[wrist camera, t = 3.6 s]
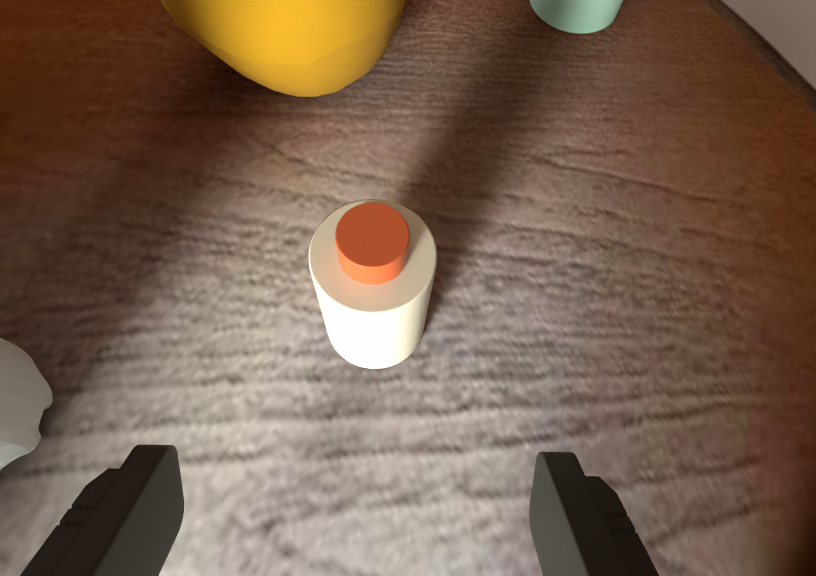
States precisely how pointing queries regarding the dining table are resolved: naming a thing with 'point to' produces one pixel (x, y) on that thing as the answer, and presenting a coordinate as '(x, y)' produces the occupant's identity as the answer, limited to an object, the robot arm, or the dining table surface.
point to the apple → (293, 38)
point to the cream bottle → (373, 280)
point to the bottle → (20, 402)
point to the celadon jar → (577, 14)
